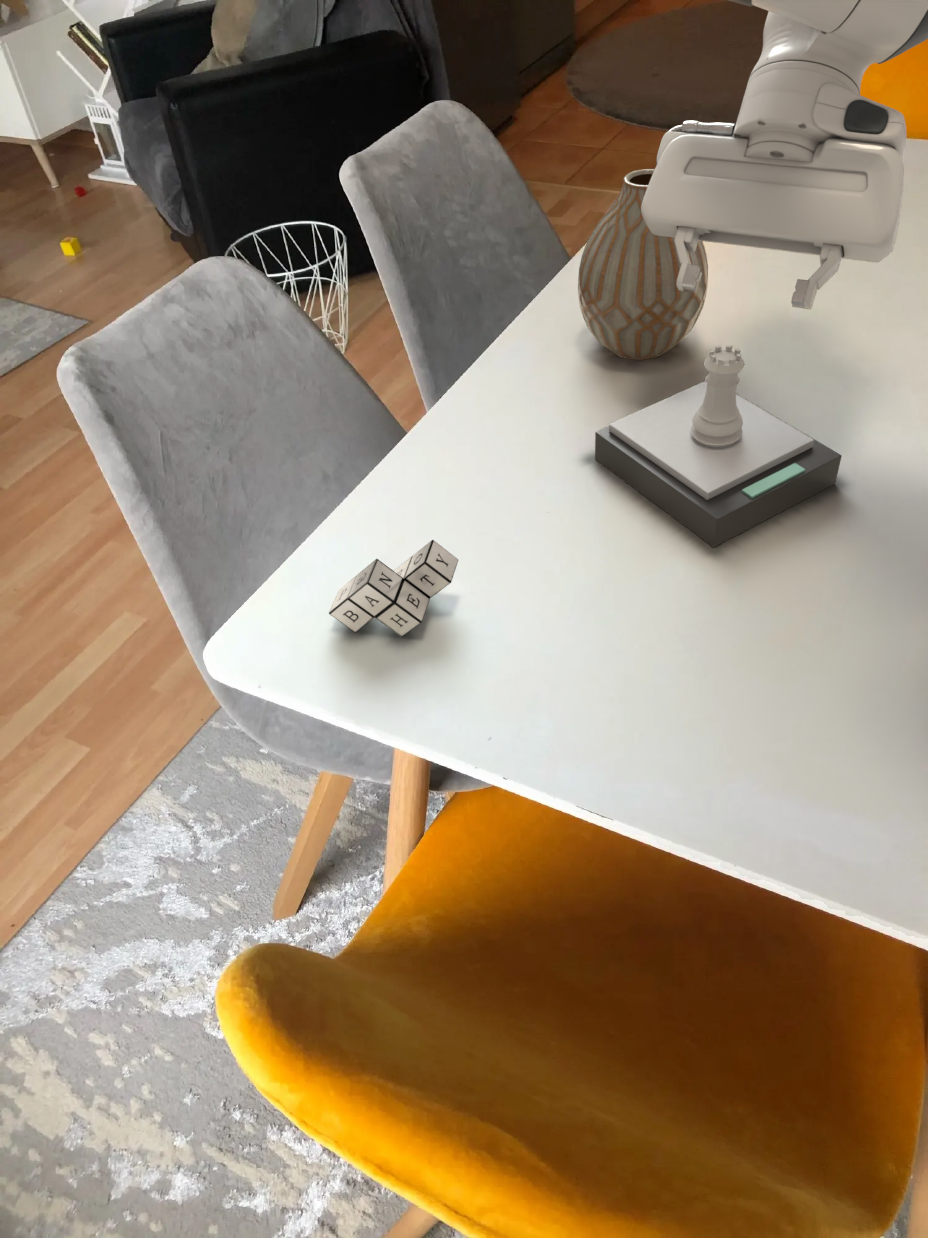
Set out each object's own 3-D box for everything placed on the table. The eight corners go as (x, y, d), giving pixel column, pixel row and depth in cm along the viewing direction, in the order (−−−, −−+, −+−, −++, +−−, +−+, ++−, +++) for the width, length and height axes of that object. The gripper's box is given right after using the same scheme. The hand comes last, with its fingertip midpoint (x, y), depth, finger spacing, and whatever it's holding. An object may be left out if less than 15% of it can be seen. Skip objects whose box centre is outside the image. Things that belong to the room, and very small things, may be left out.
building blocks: (381, 651, 77) (443, 606, 72) (328, 613, 75) (387, 565, 70) (398, 605, 80) (458, 559, 75) (348, 568, 78) (406, 518, 73)
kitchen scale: (835, 483, 84) (843, 447, 81) (713, 547, 79) (718, 511, 77) (709, 405, 94) (712, 371, 91) (594, 458, 89) (595, 424, 87)
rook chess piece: (727, 455, 82) (738, 372, 76) (680, 440, 84) (687, 358, 78) (751, 429, 84) (763, 347, 78) (704, 415, 86) (713, 334, 80)
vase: (699, 378, 98) (716, 204, 85) (571, 374, 100) (569, 205, 88) (703, 315, 106) (719, 150, 94) (585, 313, 109) (585, 152, 97)
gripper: (659, 98, 78) (612, 265, 79) (927, 116, 70) (871, 302, 71) (674, 137, 84) (630, 293, 85) (923, 158, 76) (871, 329, 77)
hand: (742, 297), depth 78 cm, fingers open, 8 cm apart
